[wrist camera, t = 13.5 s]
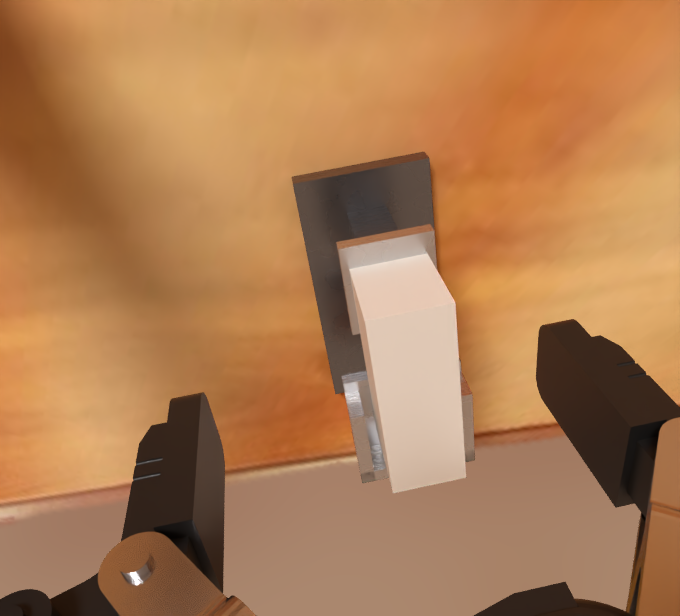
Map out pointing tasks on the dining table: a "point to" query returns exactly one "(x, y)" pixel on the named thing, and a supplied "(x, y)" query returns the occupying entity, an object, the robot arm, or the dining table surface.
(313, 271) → the stand
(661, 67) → the dining table surface
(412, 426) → the white rectangular block
